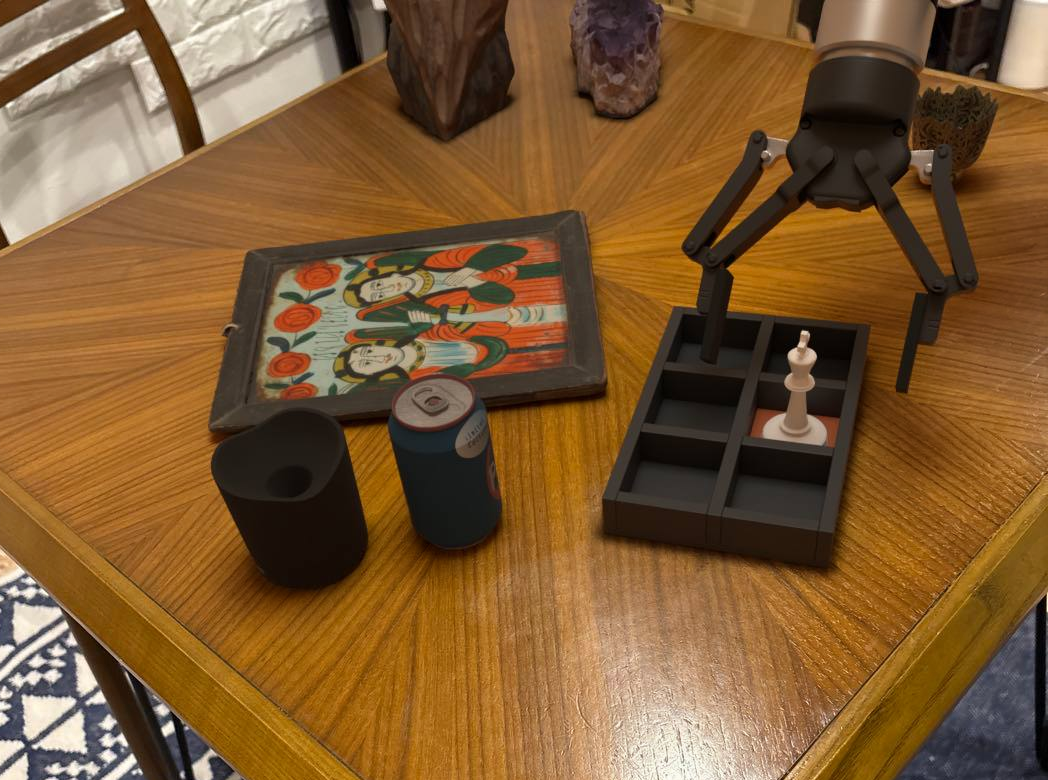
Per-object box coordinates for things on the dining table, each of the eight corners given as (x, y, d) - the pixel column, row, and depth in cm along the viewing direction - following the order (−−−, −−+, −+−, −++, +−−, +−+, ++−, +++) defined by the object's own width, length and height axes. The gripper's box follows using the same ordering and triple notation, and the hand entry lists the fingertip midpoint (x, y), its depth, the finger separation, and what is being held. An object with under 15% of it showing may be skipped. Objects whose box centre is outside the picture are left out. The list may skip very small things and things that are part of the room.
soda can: (522, 525, 82) (503, 401, 74) (445, 570, 80) (417, 448, 71) (471, 477, 87) (447, 354, 78) (396, 519, 84) (363, 398, 76)
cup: (977, 160, 110) (994, 82, 104) (986, 200, 105) (1004, 119, 99) (899, 162, 111) (911, 84, 105) (903, 200, 106) (916, 121, 100)
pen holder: (268, 505, 87) (231, 408, 80) (384, 504, 86) (357, 405, 78) (237, 596, 81) (193, 500, 73) (361, 597, 79) (329, 499, 72)
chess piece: (752, 453, 84) (759, 347, 76) (771, 413, 86) (779, 306, 79) (817, 467, 82) (831, 360, 74) (834, 425, 85) (848, 318, 77)
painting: (622, 402, 92) (621, 379, 90) (209, 454, 93) (200, 433, 91) (584, 218, 110) (583, 196, 108) (241, 264, 112) (234, 243, 110)
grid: (865, 359, 91) (871, 323, 88) (828, 568, 76) (833, 533, 74) (674, 339, 95) (674, 305, 93) (604, 533, 81) (601, 498, 78)
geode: (687, 112, 123) (675, 25, 116) (585, 137, 125) (567, 53, 118) (663, 31, 137) (651, -52, 129) (572, 55, 139) (555, -26, 131)
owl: (390, 106, 133) (355, -74, 118) (479, 71, 136) (456, -107, 122) (441, 143, 125) (410, -45, 110) (535, 105, 129) (516, -81, 114)
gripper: (1055, 103, 75) (986, 409, 77) (700, 81, 84) (645, 357, 86) (1068, 60, 68) (991, 398, 70) (679, 41, 77) (620, 342, 79)
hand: (801, 376), depth 78 cm, fingers open, 13 cm apart
